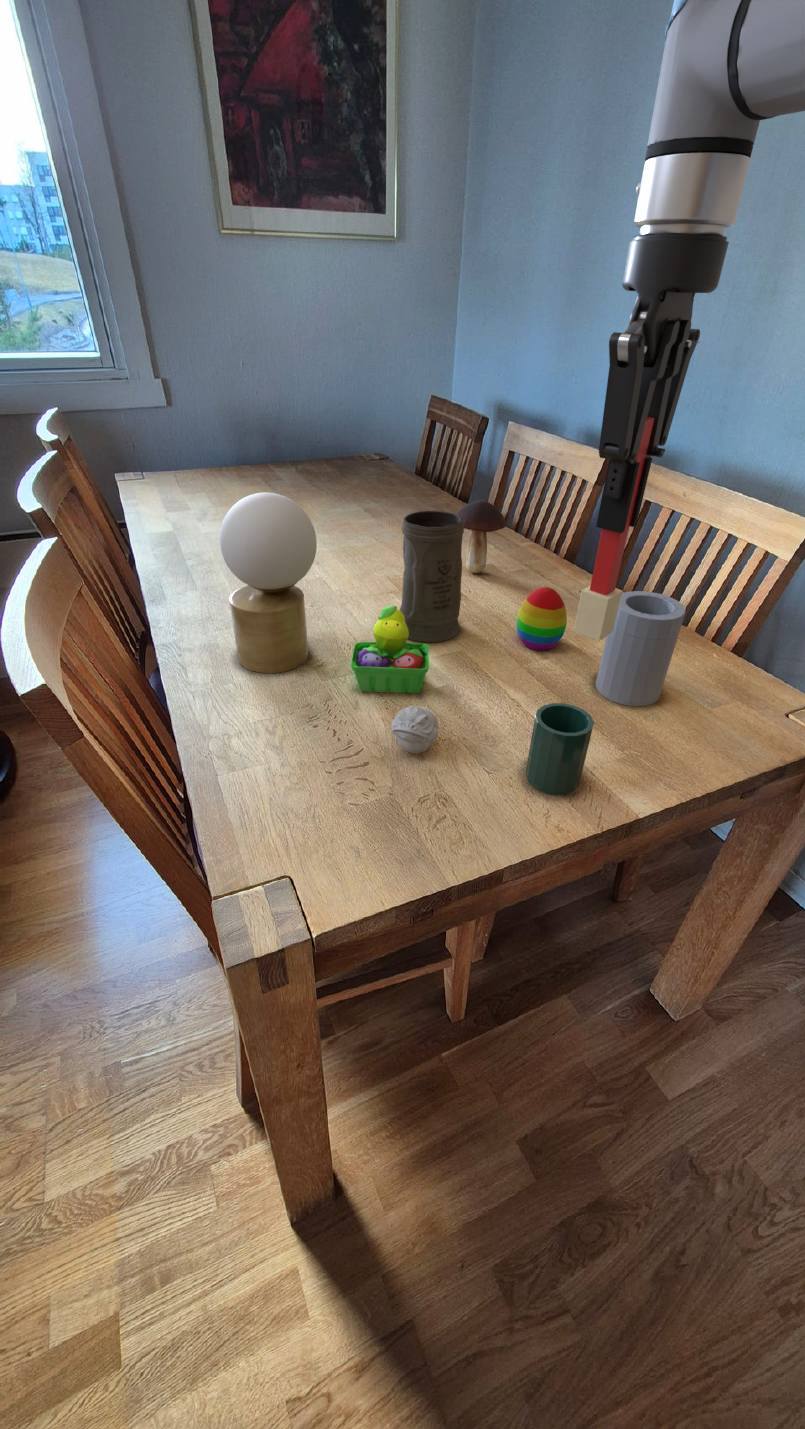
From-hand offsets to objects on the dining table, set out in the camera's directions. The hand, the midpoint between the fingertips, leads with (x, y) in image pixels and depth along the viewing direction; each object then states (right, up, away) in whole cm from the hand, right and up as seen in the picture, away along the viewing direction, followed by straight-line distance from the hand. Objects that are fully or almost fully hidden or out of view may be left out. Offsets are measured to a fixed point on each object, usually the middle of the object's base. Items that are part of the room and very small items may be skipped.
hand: (616, 525), depth 63 cm
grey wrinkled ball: (-20, -24, +19) cm, 36 cm away
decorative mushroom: (-6, +11, +69) cm, 70 cm away
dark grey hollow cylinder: (-18, -3, +49) cm, 53 cm away
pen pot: (-3, -27, +15) cm, 31 cm away
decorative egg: (+2, -7, +44) cm, 45 cm away
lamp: (-42, -9, +40) cm, 59 cm away
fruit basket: (-23, -14, +33) cm, 43 cm away
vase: (+13, -15, +32) cm, 38 cm away
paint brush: (0, -10, +7) cm, 12 cm away
